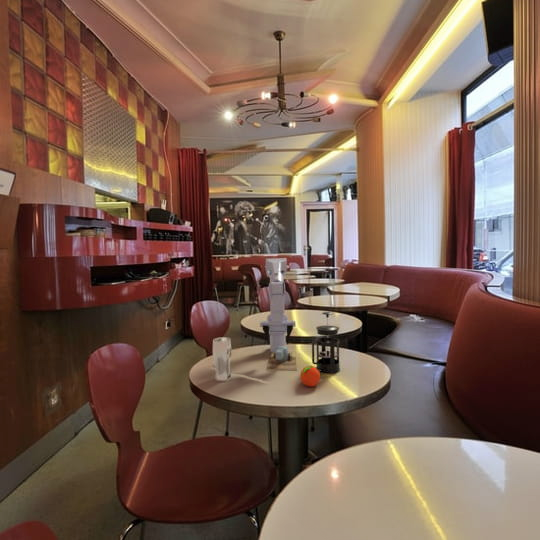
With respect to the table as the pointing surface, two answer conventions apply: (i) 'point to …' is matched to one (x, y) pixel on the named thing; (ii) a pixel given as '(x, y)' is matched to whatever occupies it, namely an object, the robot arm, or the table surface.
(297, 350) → the table surface
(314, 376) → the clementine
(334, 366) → the french press
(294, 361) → the cradle
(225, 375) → the beer glass
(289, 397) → the table surface
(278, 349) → the grey block
